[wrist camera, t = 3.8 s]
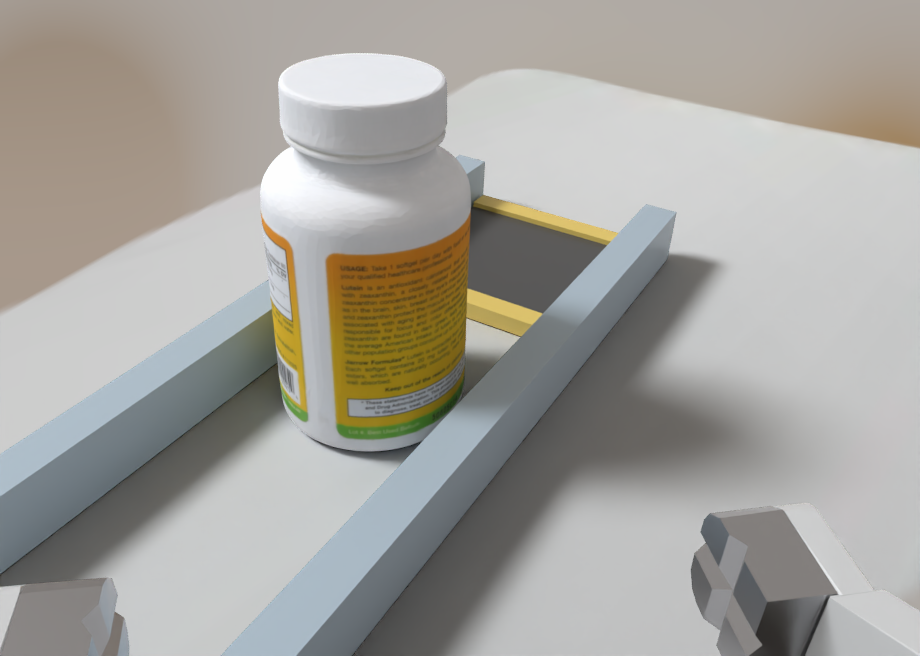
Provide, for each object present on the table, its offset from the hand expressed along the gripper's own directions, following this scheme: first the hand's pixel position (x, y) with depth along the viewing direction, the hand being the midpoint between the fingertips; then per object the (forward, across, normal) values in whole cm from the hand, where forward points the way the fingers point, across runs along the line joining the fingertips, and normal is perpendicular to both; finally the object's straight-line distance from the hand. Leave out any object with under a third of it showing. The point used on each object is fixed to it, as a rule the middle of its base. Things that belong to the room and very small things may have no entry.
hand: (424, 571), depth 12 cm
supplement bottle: (+12, 0, +7) cm, 14 cm away
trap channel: (+13, -1, +7) cm, 15 cm away
